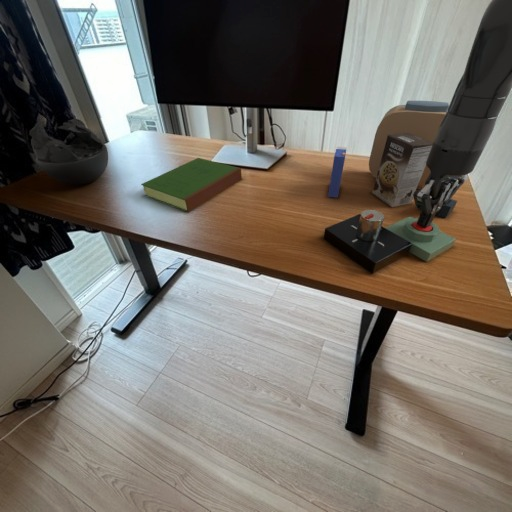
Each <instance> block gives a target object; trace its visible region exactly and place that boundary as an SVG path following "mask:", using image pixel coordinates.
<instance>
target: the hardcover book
mask: <svg viewBox="0 0 512 512" xmlns="http://www.w3.org/2000/svg"><path fill="white" fill-rule="evenodd" d="M242 176H243V175H242V168H241V167H237V166H234V165H229V164H225V163H221V162H216V161H213V160H209V159H204V158H200V157H196V158H195V159H193V160H189V161H188V162H186V163H184V164H182V165H180V166H177V167H174V168H173V169H170V170H169V171H167V172H165V173H162V174H160V175H158V176H156V177H153V178H152V179H150V180H147V181H145V182H143V183H141V184H140V186H142V187H143V190H144V196H145V197H147V198H149V199H151V200H155V201H158V202H160V203H163V204H165V205H168V206H171V207H174V208H177V209H179V210H182V211H184V212H187V213H190V212H192V211H194V210H195V209H197V208H198V207H200V206H202V205H203V204H204V203H207V202H208V201H209V200H211V199H213V198H214V197H216V196H217V195H219V194H221V193H223V192H224V191H225V190H227V189H229V188H230V187H232V186H234V185H235V184H237V183H238V182H240V181H242V180H243V178H242Z"/></svg>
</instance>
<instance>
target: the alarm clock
mask: <svg viewBox="0 0 512 512" xmlns="http://www.w3.org/2000/svg"><path fill="white" fill-rule="evenodd" d="M449 105H450V102H445V101H436V100H435V101H434V100H407V101H406V103H405V104H400V105H396V106H394V107H392V108H390V109H388V110H387V112H385V114H384V116H383V117H382V119H381V121H380V122H379V124H378V125H377V127H376V128H377V129H376V131H375V133H374V137H373V143H372V147H371V151H370V155H369V158H368V169H369V173H370V174H371V175H372V177H374V179H376V177H377V173H378V170H379V166H380V162H381V159H382V155H383V151H384V147H385V144H386V140H387V136H388V135H391V134H399V133H410V134H412V135H415V136H417V137H420V138H423V139H425V140H428V141H430V142H433V143H434V140H435V137H436V135H437V132H438V129H439V127H440V125H441V123H442V121H443V119H444V117H445V115H446V113H447V111H448V108H449ZM430 173H431V171H430V169H429V168H428V167H427V166H425V168H424V171H423V173H422V176H421V178H420V181H419V183H418V186H417V188H416V190H422V189H423V188H424V187H425V182H426V179H427V178H428V176H429V175H430Z"/></svg>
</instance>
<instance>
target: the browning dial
mask: <svg viewBox="0 0 512 512" xmlns="http://www.w3.org/2000/svg"><path fill="white" fill-rule="evenodd" d="M360 214H361V216H360V220H359V224H358V228H357V232H356V235H357V237H358V238H360V239H361V240H364V241H375V240H376V239H377V238H378V235H379V232H380V229H381V226H382V227H383V223H384V219H385V215H384V213H382V212H380V211H379V210H375V209H365V210H362V211H361V213H360Z"/></svg>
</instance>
